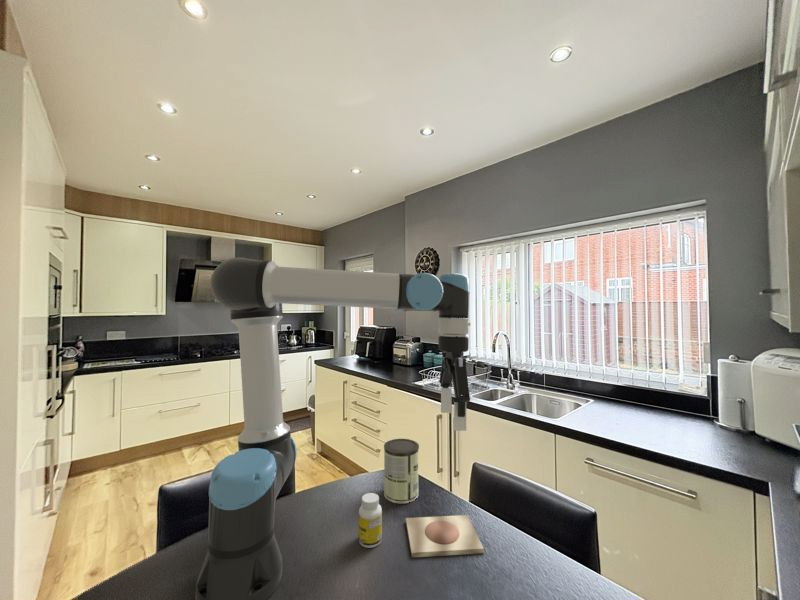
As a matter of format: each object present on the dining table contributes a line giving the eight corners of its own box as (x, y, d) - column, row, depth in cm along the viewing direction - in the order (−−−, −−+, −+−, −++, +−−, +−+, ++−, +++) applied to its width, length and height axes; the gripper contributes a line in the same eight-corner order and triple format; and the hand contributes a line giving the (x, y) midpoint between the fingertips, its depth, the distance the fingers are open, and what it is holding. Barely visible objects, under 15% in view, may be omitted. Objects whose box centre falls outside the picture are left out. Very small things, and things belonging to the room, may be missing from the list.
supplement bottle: (355, 536, 77) (355, 494, 77) (376, 530, 79) (377, 489, 79) (362, 551, 72) (363, 506, 72) (385, 544, 74) (385, 500, 74)
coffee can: (386, 483, 101) (386, 437, 101) (419, 485, 100) (419, 439, 100) (380, 502, 90) (381, 451, 91) (417, 505, 89) (418, 453, 90)
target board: (411, 557, 70) (411, 551, 70) (405, 522, 82) (405, 517, 82) (483, 553, 71) (483, 547, 72) (467, 519, 83) (467, 514, 83)
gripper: (485, 339, 70) (484, 439, 69) (455, 332, 95) (454, 406, 94) (451, 338, 69) (450, 439, 68) (429, 332, 94) (428, 406, 93)
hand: (452, 420), depth 81 cm, fingers open, 13 cm apart
